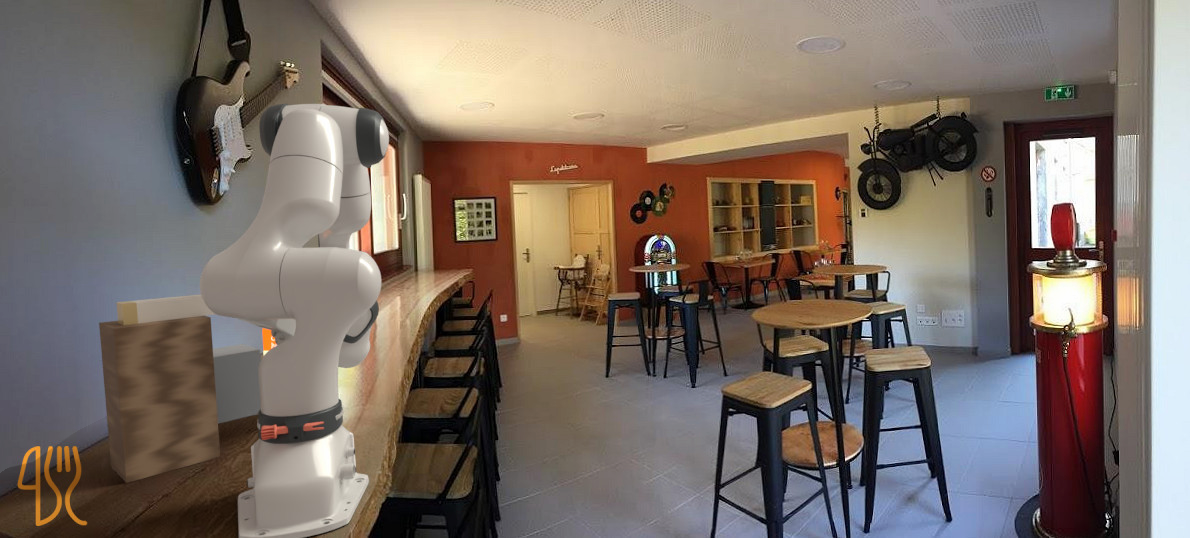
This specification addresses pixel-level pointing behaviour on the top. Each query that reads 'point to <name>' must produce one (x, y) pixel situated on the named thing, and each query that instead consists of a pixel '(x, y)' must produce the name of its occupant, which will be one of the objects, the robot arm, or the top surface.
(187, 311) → the cream tan bar
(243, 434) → the top surface
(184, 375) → the walnut post
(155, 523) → the top surface
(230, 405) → the grey block
